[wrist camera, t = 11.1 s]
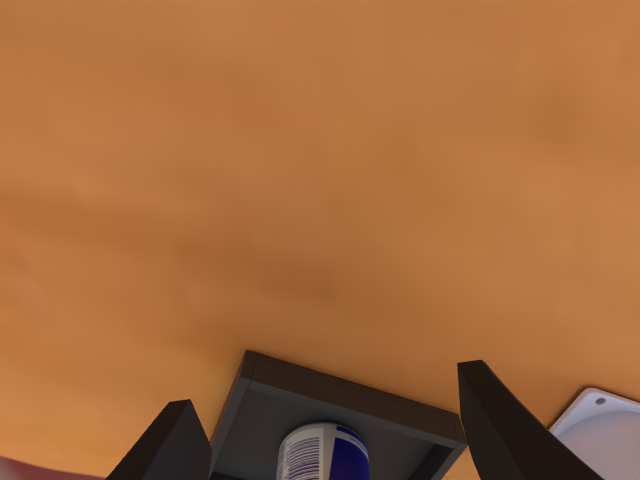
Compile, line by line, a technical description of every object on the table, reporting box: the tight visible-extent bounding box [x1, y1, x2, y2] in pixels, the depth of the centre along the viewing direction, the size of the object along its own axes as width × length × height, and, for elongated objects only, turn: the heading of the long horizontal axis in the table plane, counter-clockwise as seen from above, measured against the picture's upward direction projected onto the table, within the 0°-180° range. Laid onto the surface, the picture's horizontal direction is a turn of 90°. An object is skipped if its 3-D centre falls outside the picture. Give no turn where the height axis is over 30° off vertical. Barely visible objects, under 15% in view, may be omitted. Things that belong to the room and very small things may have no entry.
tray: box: [208, 350, 468, 480], centre depth 26 cm, size 13×10×2 cm
